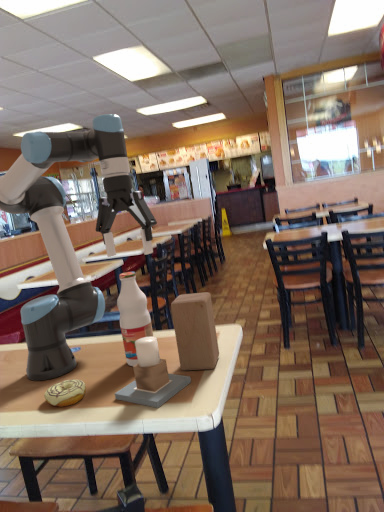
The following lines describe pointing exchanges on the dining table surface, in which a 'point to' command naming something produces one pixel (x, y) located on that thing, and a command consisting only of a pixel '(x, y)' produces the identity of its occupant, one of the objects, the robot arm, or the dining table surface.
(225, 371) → the dining table surface
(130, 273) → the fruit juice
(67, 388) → the decorated donut
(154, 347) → the marshmallow
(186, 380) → the slate board
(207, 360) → the wooden block
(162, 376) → the walnut cube
